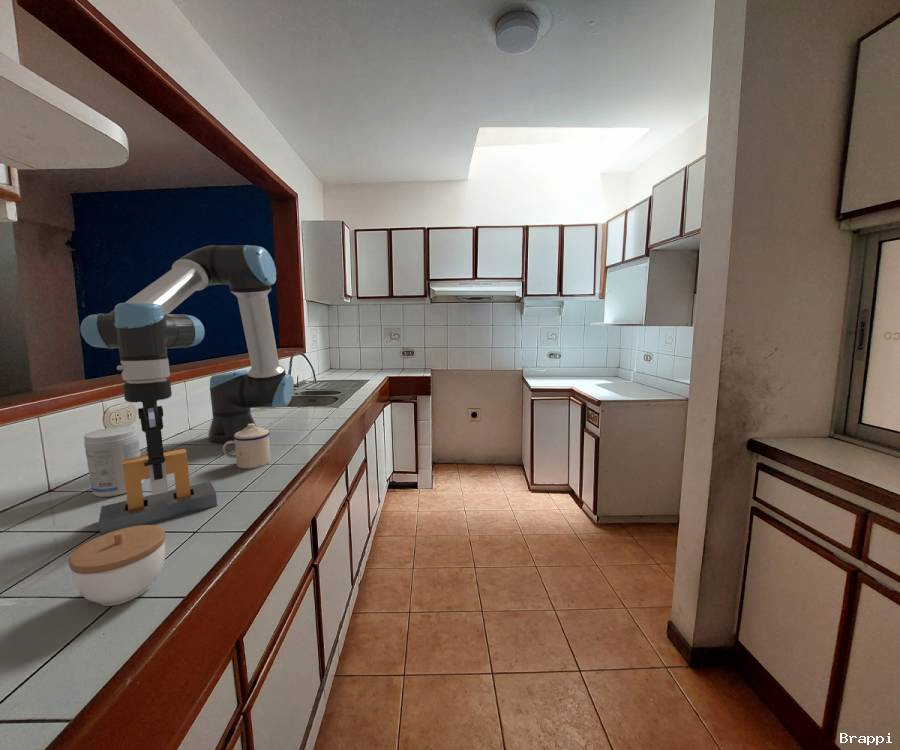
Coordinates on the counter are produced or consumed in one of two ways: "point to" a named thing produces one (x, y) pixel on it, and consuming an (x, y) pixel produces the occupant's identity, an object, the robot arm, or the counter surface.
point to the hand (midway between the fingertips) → (159, 489)
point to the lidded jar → (119, 564)
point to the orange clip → (138, 472)
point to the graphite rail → (156, 508)
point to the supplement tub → (110, 458)
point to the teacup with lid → (250, 447)
